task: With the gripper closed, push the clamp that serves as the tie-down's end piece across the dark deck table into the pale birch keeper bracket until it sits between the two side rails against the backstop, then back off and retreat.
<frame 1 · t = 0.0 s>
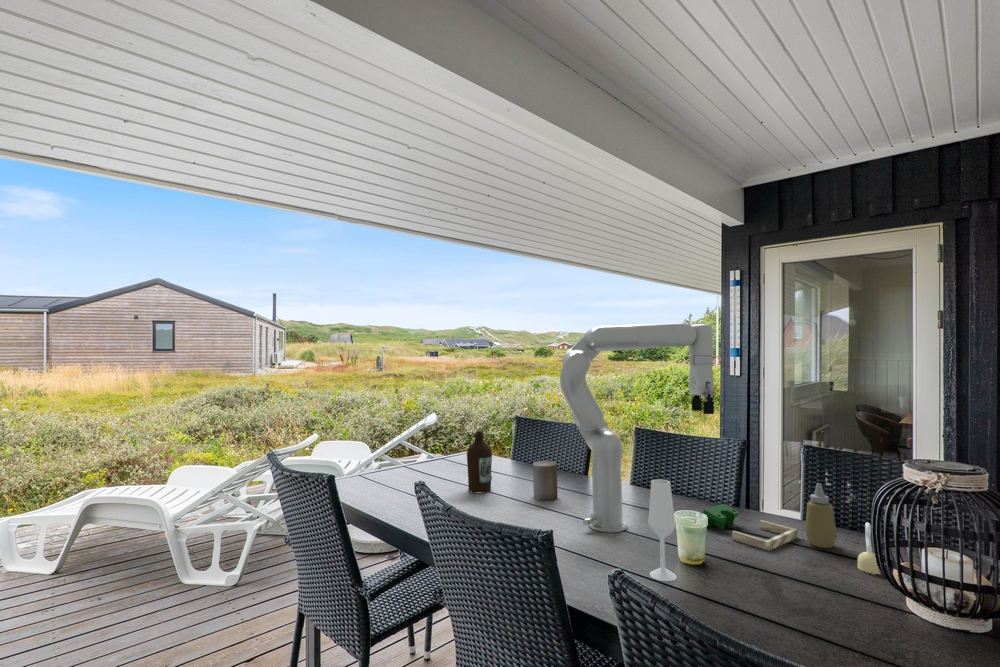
hand: (702, 412, 170), 37 cm above the table, tool pointing down, fingers open, 9 cm apart
clamp: (720, 526, 167), on the table
olive oil: (479, 491, 214), on the table
pale yellow handled piece: (869, 570, 133), on the table
champagne flute: (663, 576, 131), on the table
squeeze bottle: (821, 545, 150), on the table
pillar candle: (545, 498, 202), on the table
keeper bracket: (763, 538, 156), on the table
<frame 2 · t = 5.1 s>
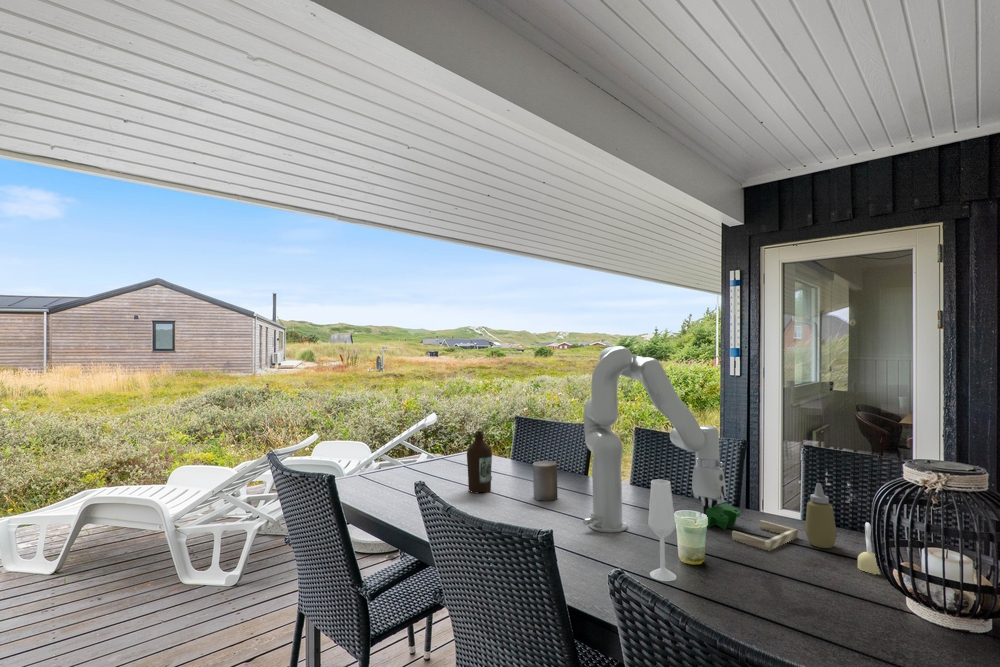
hand: (709, 517, 171), 1 cm above the table, tool pointing down, fingers closed
clamp: (722, 526, 167), on the table, touching gripper
everything else where it was.
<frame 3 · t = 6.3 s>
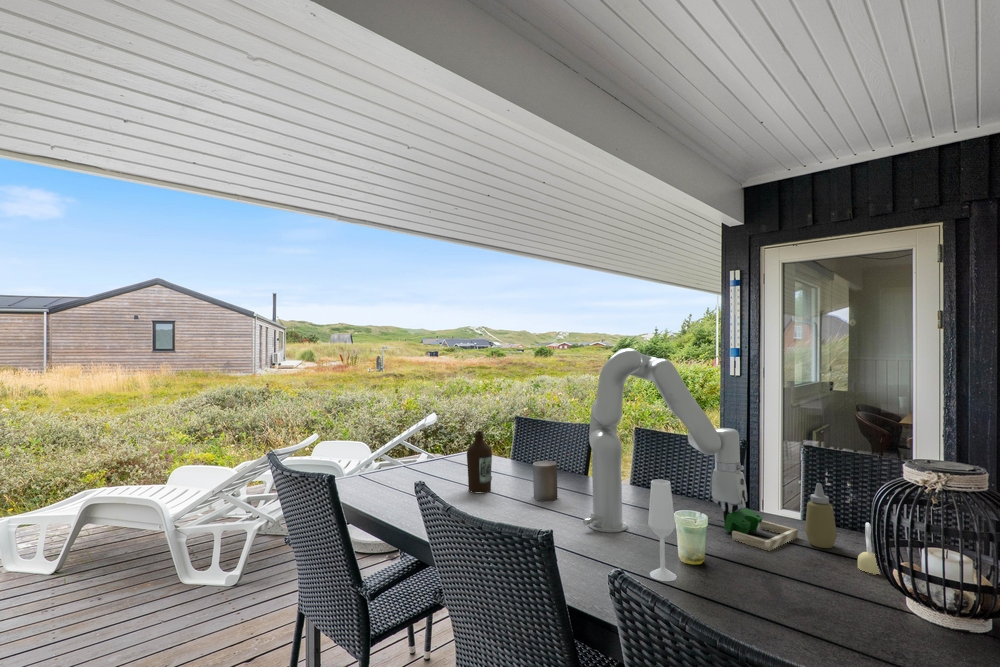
hand: (729, 523, 165), 1 cm above the table, tool pointing down, fingers closed
clamp: (743, 532, 161), on the table, touching gripper
everything else where it was.
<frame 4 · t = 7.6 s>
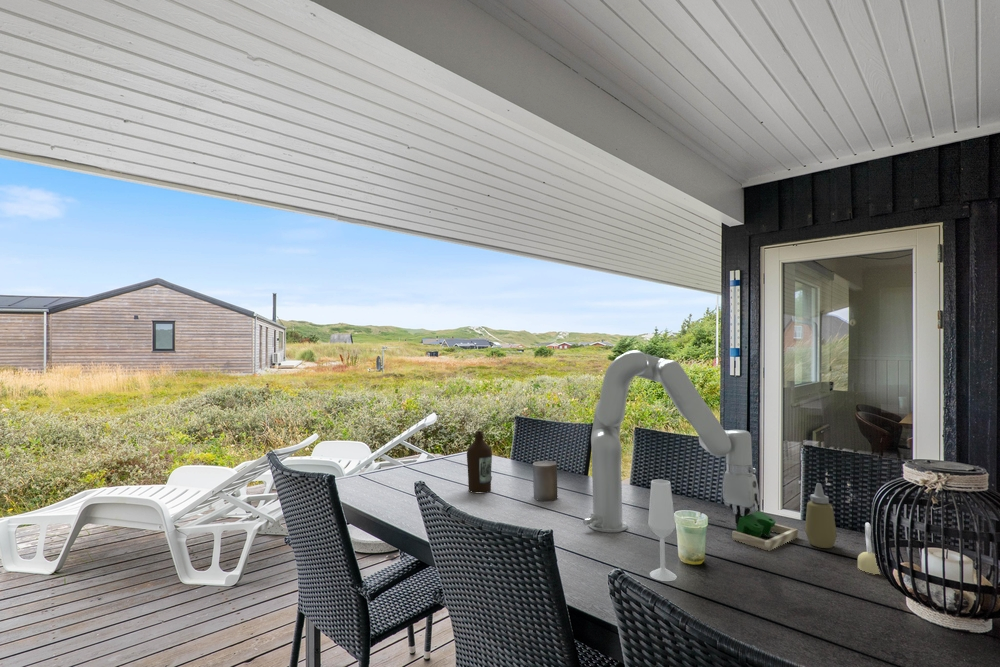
hand: (741, 526, 162), 1 cm above the table, tool pointing down, fingers closed
clamp: (756, 536, 158), on the table, touching gripper
everything else where it was.
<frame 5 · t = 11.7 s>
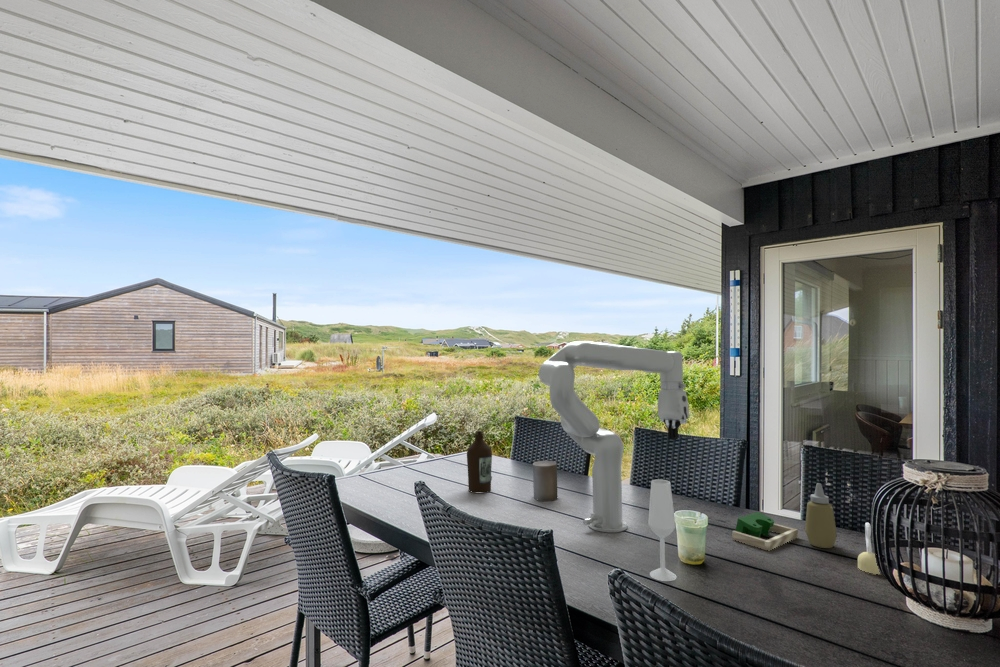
hand: (673, 439, 177), 27 cm above the table, tool pointing down, fingers closed
clamp: (755, 536, 158), on the table
everything else where it was.
at the end: clamp inside the target area on the keeper bracket (1.6 cm from its centre), point 0.0 cm above the keeper bracket's base; clamp moved 11.4 cm from its start; the gripper is holding nothing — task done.
